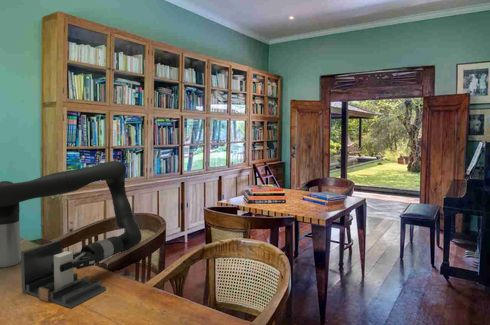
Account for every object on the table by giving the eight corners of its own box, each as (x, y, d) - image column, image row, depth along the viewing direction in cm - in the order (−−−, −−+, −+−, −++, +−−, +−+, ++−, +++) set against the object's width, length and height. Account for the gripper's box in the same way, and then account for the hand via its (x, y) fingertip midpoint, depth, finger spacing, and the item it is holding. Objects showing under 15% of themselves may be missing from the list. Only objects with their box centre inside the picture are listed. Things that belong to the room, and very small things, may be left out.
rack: (20, 292, 118) (18, 252, 116) (59, 276, 131) (58, 239, 130) (69, 309, 108) (68, 265, 107) (106, 290, 121) (105, 250, 120)
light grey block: (54, 290, 118) (53, 255, 117) (67, 284, 122) (66, 251, 121) (60, 292, 117) (59, 257, 116) (73, 286, 121) (72, 252, 120)
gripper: (84, 238, 134) (41, 253, 119) (111, 245, 128) (70, 260, 113) (84, 257, 135) (42, 274, 120) (112, 264, 129) (71, 283, 114)
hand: (56, 267), depth 116 cm, fingers open, 3 cm apart
